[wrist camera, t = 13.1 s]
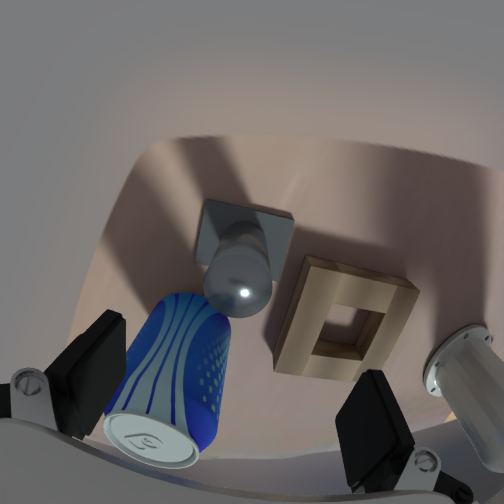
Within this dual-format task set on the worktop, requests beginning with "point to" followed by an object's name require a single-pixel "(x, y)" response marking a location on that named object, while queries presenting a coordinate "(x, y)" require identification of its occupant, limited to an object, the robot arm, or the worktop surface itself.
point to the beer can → (171, 384)
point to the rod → (239, 272)
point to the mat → (225, 215)
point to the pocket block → (348, 294)
